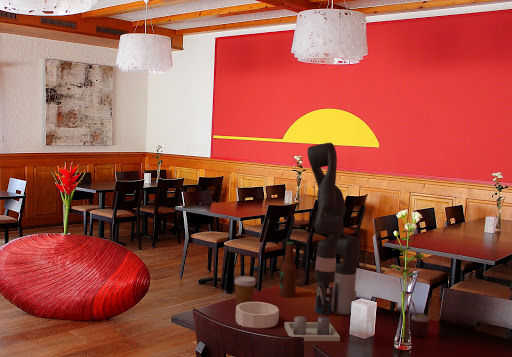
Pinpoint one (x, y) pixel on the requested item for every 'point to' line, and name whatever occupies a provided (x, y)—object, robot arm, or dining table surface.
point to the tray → (312, 332)
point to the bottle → (288, 273)
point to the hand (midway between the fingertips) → (322, 310)
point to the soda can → (319, 310)
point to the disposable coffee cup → (244, 289)
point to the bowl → (257, 314)
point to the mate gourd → (419, 323)
